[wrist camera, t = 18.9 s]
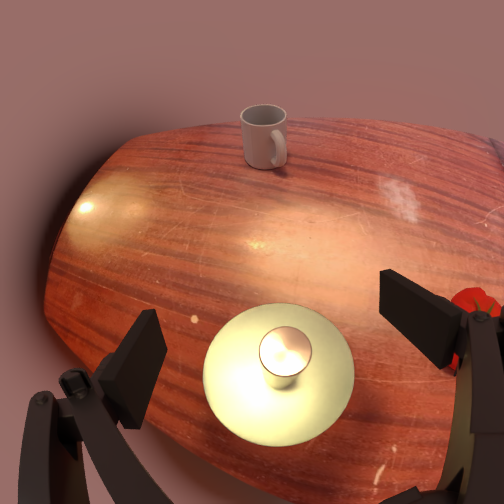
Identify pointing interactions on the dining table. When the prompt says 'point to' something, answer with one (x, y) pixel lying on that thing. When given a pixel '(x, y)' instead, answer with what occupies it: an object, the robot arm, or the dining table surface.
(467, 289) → the tomato
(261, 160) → the cup
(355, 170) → the dining table surface
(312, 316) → the lid
